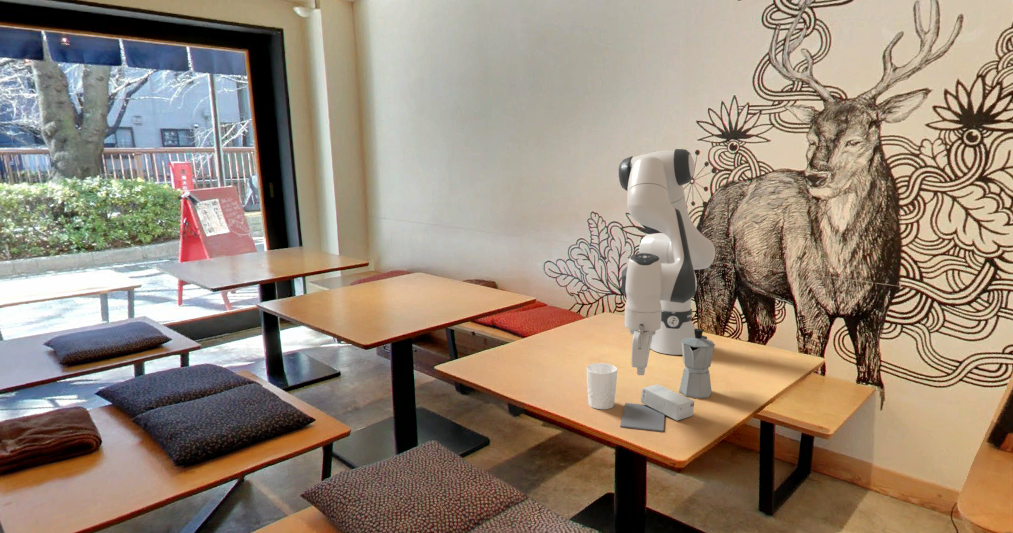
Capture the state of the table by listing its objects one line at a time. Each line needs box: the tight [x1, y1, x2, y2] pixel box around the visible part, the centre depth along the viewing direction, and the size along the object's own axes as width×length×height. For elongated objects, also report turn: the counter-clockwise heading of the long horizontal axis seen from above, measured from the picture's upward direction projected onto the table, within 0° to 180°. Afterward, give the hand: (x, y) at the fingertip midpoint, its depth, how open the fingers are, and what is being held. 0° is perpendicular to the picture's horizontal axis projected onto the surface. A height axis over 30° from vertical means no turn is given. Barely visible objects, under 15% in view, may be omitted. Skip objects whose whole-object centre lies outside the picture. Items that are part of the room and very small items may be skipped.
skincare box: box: [640, 384, 695, 421], centre depth 149 cm, size 6×4×12 cm
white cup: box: [586, 362, 618, 410], centre depth 153 cm, size 8×8×10 cm
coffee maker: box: [678, 328, 716, 400], centre depth 160 cm, size 15×9×18 cm, turn 151°
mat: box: [619, 402, 666, 433], centre depth 146 cm, size 14×10×1 cm
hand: (641, 373), depth 147 cm, fingers closed
